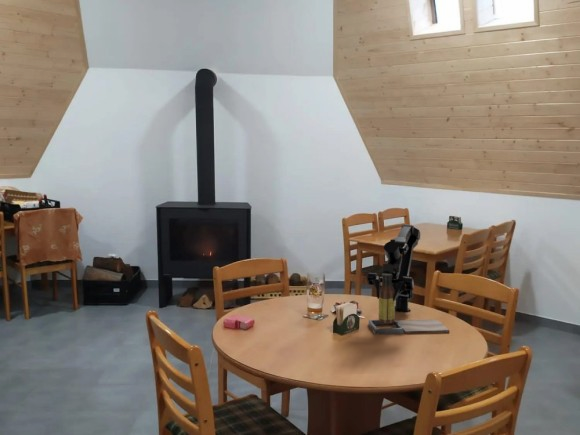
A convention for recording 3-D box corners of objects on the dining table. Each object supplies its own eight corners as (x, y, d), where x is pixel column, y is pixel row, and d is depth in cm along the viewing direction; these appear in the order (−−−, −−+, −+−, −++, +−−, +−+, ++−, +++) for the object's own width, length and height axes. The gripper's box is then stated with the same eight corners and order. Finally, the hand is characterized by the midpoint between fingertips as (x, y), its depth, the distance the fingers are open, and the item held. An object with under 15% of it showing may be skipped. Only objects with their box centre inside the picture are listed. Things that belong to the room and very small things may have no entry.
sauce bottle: (393, 319, 208) (395, 272, 205) (394, 324, 202) (397, 276, 199) (377, 318, 208) (379, 271, 205) (378, 323, 202) (380, 275, 199)
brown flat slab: (395, 322, 213) (395, 320, 213) (436, 321, 215) (437, 319, 215) (405, 333, 200) (405, 331, 200) (449, 332, 202) (449, 330, 202)
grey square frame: (368, 324, 210) (368, 319, 210) (395, 323, 211) (395, 319, 211) (375, 334, 199) (375, 329, 199) (403, 333, 200) (403, 328, 200)
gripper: (367, 253, 209) (359, 286, 200) (413, 257, 201) (406, 292, 193) (372, 268, 217) (364, 300, 209) (416, 272, 209) (410, 306, 201)
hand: (385, 299), depth 202 cm, fingers closed on sauce bottle, 6 cm apart
